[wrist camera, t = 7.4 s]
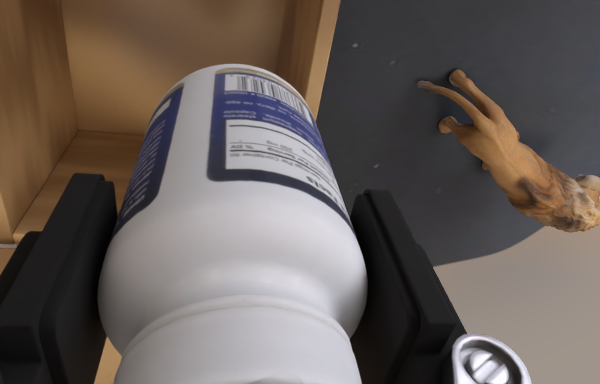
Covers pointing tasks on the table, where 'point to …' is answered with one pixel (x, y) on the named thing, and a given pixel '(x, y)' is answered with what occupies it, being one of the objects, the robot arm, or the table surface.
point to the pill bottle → (233, 243)
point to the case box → (126, 81)
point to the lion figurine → (519, 163)
